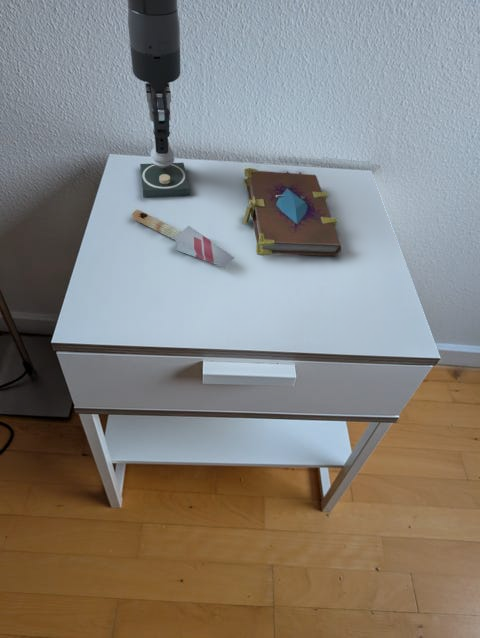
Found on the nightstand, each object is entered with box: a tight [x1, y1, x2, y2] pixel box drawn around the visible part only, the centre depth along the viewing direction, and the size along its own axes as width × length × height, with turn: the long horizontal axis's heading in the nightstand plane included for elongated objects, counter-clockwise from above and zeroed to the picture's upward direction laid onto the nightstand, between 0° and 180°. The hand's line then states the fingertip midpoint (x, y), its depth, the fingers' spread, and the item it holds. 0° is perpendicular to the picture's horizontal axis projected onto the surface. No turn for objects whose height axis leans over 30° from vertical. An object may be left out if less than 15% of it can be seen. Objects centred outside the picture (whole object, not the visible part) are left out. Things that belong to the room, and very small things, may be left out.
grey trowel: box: [131, 209, 236, 269], centre depth 71 cm, size 4×3×20 cm
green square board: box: [139, 162, 190, 198], centre depth 81 cm, size 8×8×2 cm
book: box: [242, 167, 342, 257], centre depth 78 cm, size 16×25×5 cm, turn 6°
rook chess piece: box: [150, 122, 175, 167], centre depth 78 cm, size 4×4×8 cm
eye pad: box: [159, 174, 170, 184], centre depth 79 cm, size 2×2×1 cm
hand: (161, 146), depth 78 cm, fingers closed on rook chess piece, 3 cm apart
